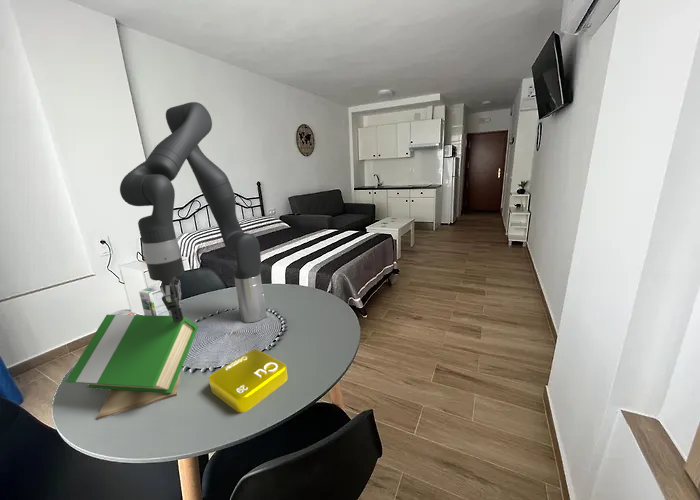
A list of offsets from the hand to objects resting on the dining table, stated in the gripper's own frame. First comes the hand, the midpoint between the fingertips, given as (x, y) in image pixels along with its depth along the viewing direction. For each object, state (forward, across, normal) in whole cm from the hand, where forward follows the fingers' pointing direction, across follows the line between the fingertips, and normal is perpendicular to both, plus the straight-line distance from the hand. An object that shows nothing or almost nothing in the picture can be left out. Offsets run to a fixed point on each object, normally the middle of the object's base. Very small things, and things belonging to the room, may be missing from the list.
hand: (178, 320), depth 77 cm
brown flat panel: (+17, 0, +11) cm, 20 cm away
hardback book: (+8, -3, +1) cm, 9 cm away
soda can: (+17, +27, +20) cm, 38 cm away
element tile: (+18, -12, -14) cm, 26 cm away
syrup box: (+17, +39, +13) cm, 44 cm away
